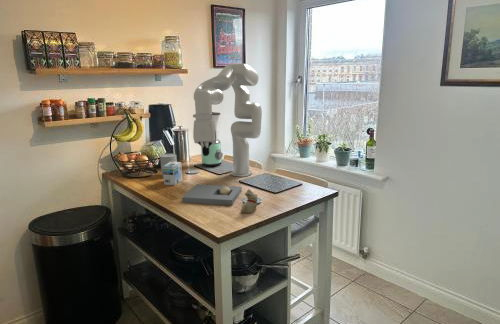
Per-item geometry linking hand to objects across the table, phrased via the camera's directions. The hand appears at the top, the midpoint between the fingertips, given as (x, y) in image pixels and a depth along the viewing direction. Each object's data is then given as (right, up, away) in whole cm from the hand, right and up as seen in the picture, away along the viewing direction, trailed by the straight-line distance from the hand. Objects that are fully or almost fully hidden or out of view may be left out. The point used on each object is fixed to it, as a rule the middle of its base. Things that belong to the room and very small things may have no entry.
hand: (206, 155), depth 166 cm
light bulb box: (-22, -15, +28) cm, 38 cm away
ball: (+9, -18, +4) cm, 20 cm away
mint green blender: (-5, -5, +65) cm, 65 cm away
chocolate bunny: (+21, -25, -14) cm, 35 cm away
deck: (+3, -20, +4) cm, 21 cm away
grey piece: (-27, -11, +42) cm, 51 cm away
